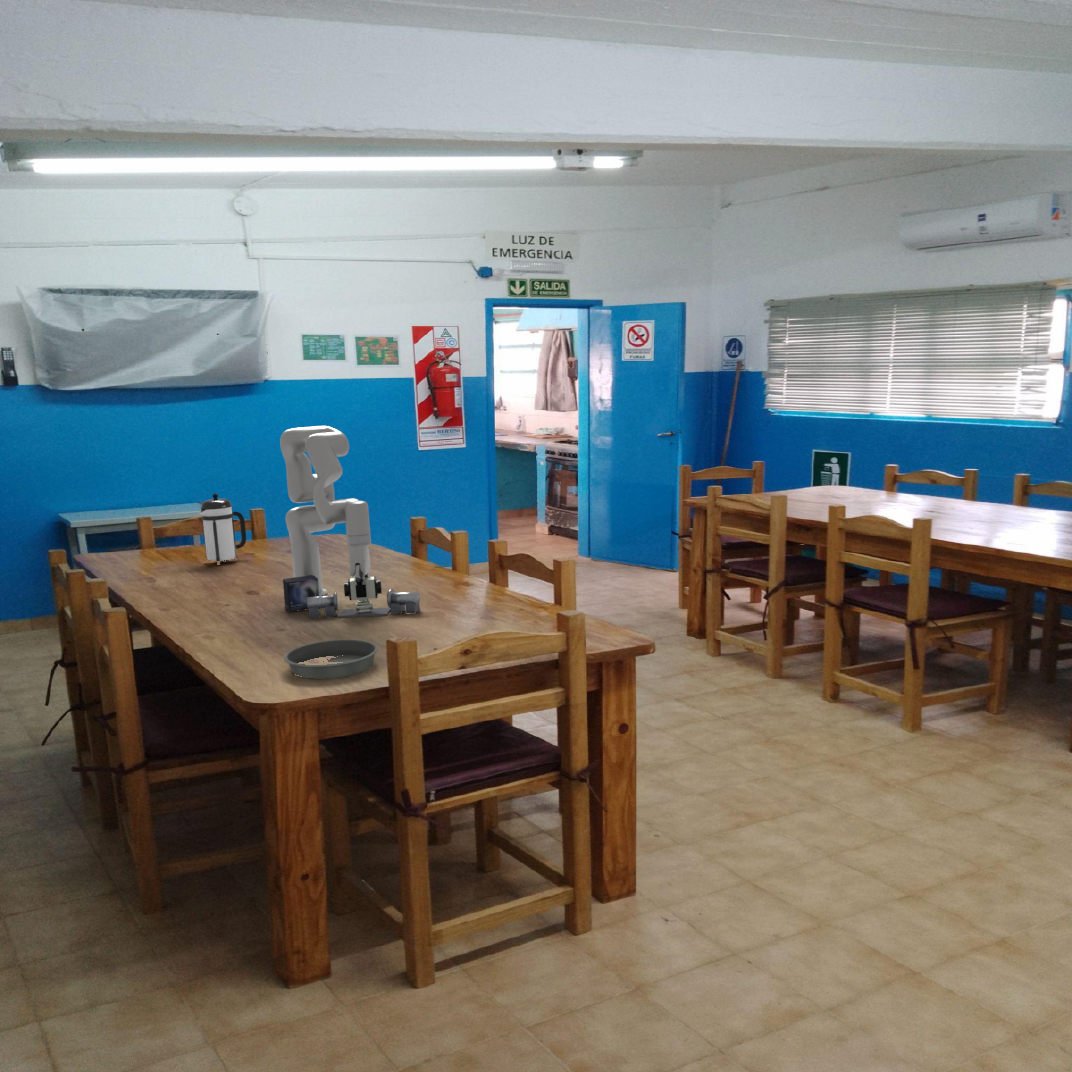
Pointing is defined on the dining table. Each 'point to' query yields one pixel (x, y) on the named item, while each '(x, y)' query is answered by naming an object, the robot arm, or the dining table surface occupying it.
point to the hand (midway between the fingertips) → (363, 594)
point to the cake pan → (354, 658)
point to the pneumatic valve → (371, 589)
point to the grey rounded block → (403, 601)
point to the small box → (299, 591)
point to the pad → (354, 613)
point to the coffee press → (220, 529)
